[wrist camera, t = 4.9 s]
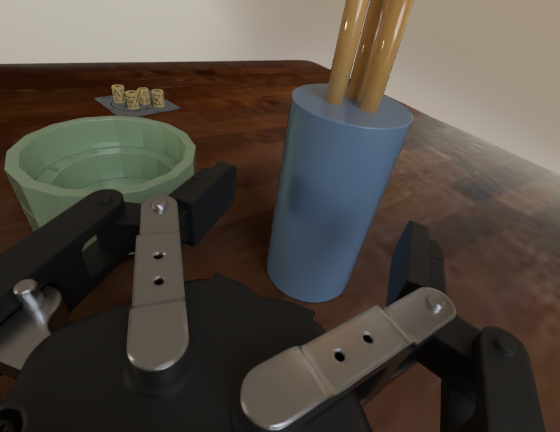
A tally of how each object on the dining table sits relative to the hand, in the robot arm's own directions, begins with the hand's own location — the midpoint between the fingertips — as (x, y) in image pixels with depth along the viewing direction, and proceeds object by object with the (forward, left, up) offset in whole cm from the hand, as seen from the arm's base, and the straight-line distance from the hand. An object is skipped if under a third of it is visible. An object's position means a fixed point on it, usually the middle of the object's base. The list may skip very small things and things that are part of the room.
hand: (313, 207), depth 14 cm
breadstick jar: (-3, +3, -9) cm, 10 cm away
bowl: (-14, -7, -9) cm, 18 cm away
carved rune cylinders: (-37, -2, -9) cm, 38 cm away
